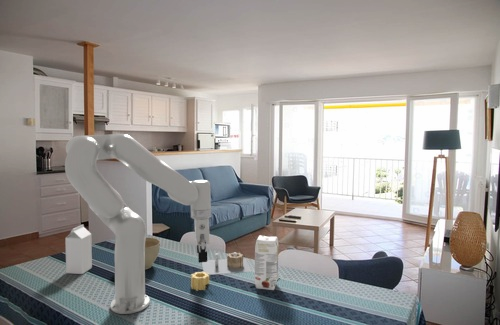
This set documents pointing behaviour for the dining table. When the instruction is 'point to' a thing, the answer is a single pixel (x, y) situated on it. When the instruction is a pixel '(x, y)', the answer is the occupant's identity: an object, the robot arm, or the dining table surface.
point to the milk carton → (78, 251)
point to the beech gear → (235, 260)
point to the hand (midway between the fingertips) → (202, 257)
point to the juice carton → (266, 262)
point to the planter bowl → (151, 251)
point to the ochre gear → (199, 280)
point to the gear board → (223, 266)
